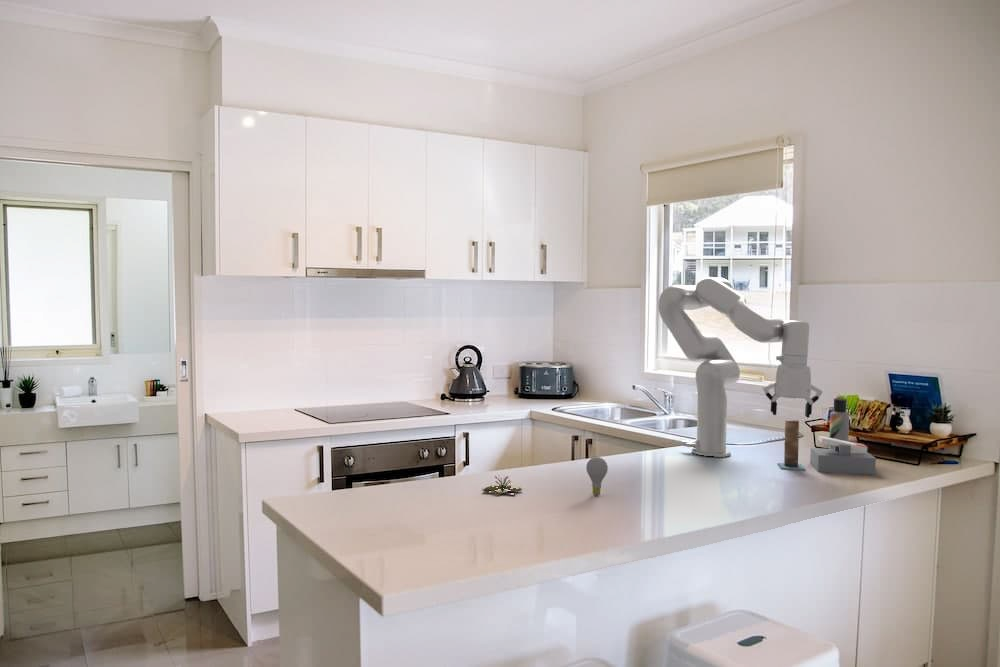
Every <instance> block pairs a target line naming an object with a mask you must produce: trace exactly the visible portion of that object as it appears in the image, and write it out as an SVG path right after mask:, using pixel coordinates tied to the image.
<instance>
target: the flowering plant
mask: <svg viewBox="0 0 1000 667" xmlns="http://www.w3.org/2000/svg"><path fill="white" fill-rule="evenodd" d="M505 476H506V475H505V474H504V478H502V477H500V475H498V476H496V475H494V478H495V479H497V480H498V481H497V480H495V481H494V482H495V483H496V485H489V486H487V487H485V488H483V490H484V491H483V492H482V493H480V494H482V495H483V494H489V493H488V492H489V491H493V492H492V493H493V494H494V493H495V494H494V495H495V496H496V497H499V496H500V495H503V494H505V492H503V491H505V490H504V489H508V490H511V492H514V494H515V495H516V491H517V493H519V492H518V491H521V489H516V488H513V489H510V488H511V487H512V485H511V484H510V483H511V482H512V481H511V479H509V480H508V481H507V479H508V478H509V475H507V476H506V477H505ZM498 477H499V478H500V479H499V478H498ZM497 484H498V485H497ZM508 484H510V485H508ZM492 486H494V487H492ZM506 486H507V487H506ZM496 487H498V488H496ZM503 488H504V489H503ZM498 489H501V490H500V491H501V492H500V491H498V492H497V491H495V490H498ZM509 492H510V491H509ZM509 492H508V493H509ZM508 493H506V495H508ZM497 495H498V496H497Z"/></svg>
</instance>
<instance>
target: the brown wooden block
mask: <svg viewBox="0 0 1000 667" xmlns="http://www.w3.org/2000/svg"><path fill="white" fill-rule="evenodd" d="M799 425H800V421H799V420H797V419H796V420H795V419H785V420H784V453H783V454H784V461H783V463H784V465H785V466H788V467H798V464H799V445H800V442H799V440H800V439H799V438H800V437H799V436H800V435H799V434H800V433H799V432H800V429H799V428H800V426H799Z"/></svg>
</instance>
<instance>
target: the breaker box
mask: <svg viewBox="0 0 1000 667" xmlns="http://www.w3.org/2000/svg"><path fill="white" fill-rule="evenodd" d="M809 455H810V456H809V457H810V458H809V462H810V463H809V464H810V465H811V466H812V467H813V468H814V469H815V470H816V471H817V472H818V473H835V474H855V475H872V476H876V464H877V463H876V462H877V461H876V460H877V459H876V457H875V456H873V455H872V454H871V453H869V452H868V451H867V452H862V451H857V450H852V449H851V445H839V447H838V446H834V449H829V448H820V447H810V454H809Z"/></svg>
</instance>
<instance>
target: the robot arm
mask: <svg viewBox="0 0 1000 667" xmlns="http://www.w3.org/2000/svg"><path fill="white" fill-rule="evenodd" d="M706 307H707V308H708V307H711V308H712V309H714V310H715V311H717V312H719V314H722V315H723V316H724V317H726V318H727V319H728V320H729V321H730V323H732V325H733V326H734V327H735V328H736V329H737V330H739V331H740V332H741V333H743V334H745V335H746V336H747V337H749V338H751V339H752V340H754V341H755V342H757V343H762V344H766V343H781V344H782V345H781V354H780V355H776V356H775V357H776V358H775V360H776V361H778V362H780V363H778V366H777V368H776V369H777V370H776V375H775V379H774V380H775V381H774V382H772V383H769V384H767V385H766V384H765V385H764V386H763V387H762V390H763V392H764V395H765V396H766V397H767V399H769V400H770V412H771V413H772V415H773V416H777V410H778V409H777V408H778V402H777V400H778V399H779V398H789V399H790V398H791V399H804V400H806V403H805V409H804V416H805V417H806V418H810V415H812V413H813V412H812V410H813V405H814V404H815V403H816V402H817V401H819V399H820V397H821V396H822V394H823V391H822V389H820V388H818V387H816V386H814V385H812V374H811V373H812V372H811V367H810V365H808V358H809V357H808V353H809V342H810V341H809V340H810V338H809V337H810V324H809V323H808V322H807V321H804V320H786V319H781V318H765V317H763V316H761V315H760V314H758V313H756V312H755V311H753V310H752V309H750V308H749V307H748V306H747V300H746V298H745V296H744V295H742V294H740V293H739V292H738V291H737V290H734V289H733V286H732V284H731V282H729V280H727V279H725V278H723V277H713V276H711V277H710V276H707V277H706V276H705V277H703V278H701V279H700V280H698V282H697V283H696V284H694V285H684V284H683V285H681V284H675V285H670V286H667V287H666V288H664V289H663V291H662V292H661V293H660V295H659V299H658V313H659V316H660V318H661V320H662V322H663V323H664V325H665V326H666V327H667V329H668V330H669V332H670V333H671V335H672V337H673V338H674V340H675V341H676V343H677V345H678V346H679V348H680V349H681V350H682V353H683V354H684V355H685V357H686V359H688V360H690V361H692V362H702V363H700V364H699V365H698V367H697V368H696V371H695V384H696V392H697V418H696V422H697V423H696V438H695V439H694V440H693V439H692V440H690V441H689V440H682V447H686V448H692V449H691V453H692V452H693V453H695V454H694V455H696V454H699V455H704V456H703V457H706V456H714V457H713V458H726V456H727V457H729V456H731V454H732V451H731V450H730V449H729V450H728V449H727V421H728V397H727V392H726V389H725V388H727V387H731V386H734V385H735V384H736V383H737V382H738V381H739V380H740V377H741V371H740V368H739V364H738V363H737V362H736V360H735V358H734V357H733V355H732V354H731V352H730V351H729V349H728V348H727V347H726V345H725V344H724V342H723V340H721V339H720V338H719V337H718V336H717V335H715V334H713V333H708V332H707V333H704V332H702V331H701V330H700V329H699V327H698V326H697V325H696V323H695V321H694V320H693V319H692V318H691V316H689V315H688V313H686V311H690V310H691V311H692V310H698V309H702V308H706ZM685 310H686V311H685ZM771 389H774V394H771V393H770V390H771ZM812 391H814V392H815V394H814V395H813V396H812V397H811V394H812ZM693 453H692V454H693ZM699 455H698V456H699Z"/></svg>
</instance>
